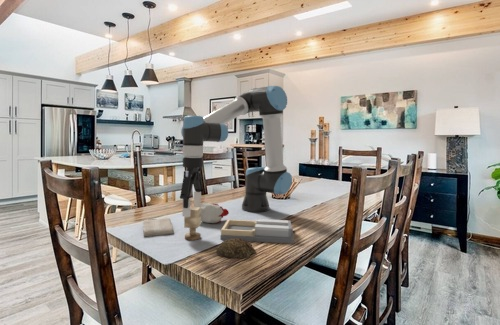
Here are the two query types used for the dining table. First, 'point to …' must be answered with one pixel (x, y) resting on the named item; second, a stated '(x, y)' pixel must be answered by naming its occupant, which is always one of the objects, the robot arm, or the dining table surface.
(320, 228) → the dining table surface
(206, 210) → the white and red figurine
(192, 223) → the maple peg
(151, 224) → the washcloth
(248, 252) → the bread roll
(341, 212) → the dining table surface
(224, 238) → the keyhole board
